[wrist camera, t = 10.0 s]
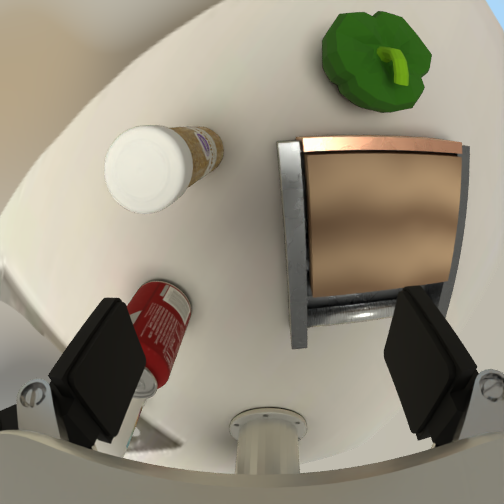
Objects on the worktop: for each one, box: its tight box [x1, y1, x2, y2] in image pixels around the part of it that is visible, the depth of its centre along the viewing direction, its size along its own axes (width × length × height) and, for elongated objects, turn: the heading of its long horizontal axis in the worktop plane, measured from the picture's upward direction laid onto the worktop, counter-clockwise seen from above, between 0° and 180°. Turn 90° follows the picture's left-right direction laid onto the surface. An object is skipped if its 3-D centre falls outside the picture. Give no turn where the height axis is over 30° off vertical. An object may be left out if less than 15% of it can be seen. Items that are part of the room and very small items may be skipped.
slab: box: [303, 151, 462, 298], centre depth 23 cm, size 12×14×2 cm
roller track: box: [276, 135, 470, 349], centre depth 25 cm, size 20×18×5 cm
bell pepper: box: [322, 11, 432, 113], centre depth 17 cm, size 8×8×10 cm
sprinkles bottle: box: [104, 125, 223, 214], centre depth 19 cm, size 5×5×13 cm
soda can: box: [127, 281, 191, 399], centre depth 27 cm, size 7×7×12 cm
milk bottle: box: [95, 398, 146, 458], centre depth 30 cm, size 8×8×20 cm
